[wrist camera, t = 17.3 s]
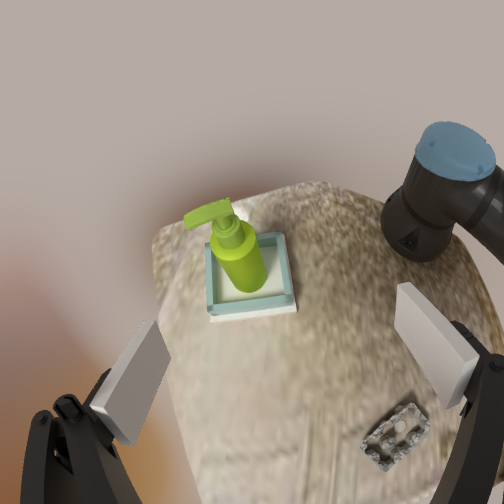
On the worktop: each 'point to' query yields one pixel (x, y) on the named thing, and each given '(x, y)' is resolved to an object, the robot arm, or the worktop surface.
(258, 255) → the soap dispenser
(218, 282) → the cradle
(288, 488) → the worktop surface
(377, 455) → the egg carton
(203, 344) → the worktop surface
